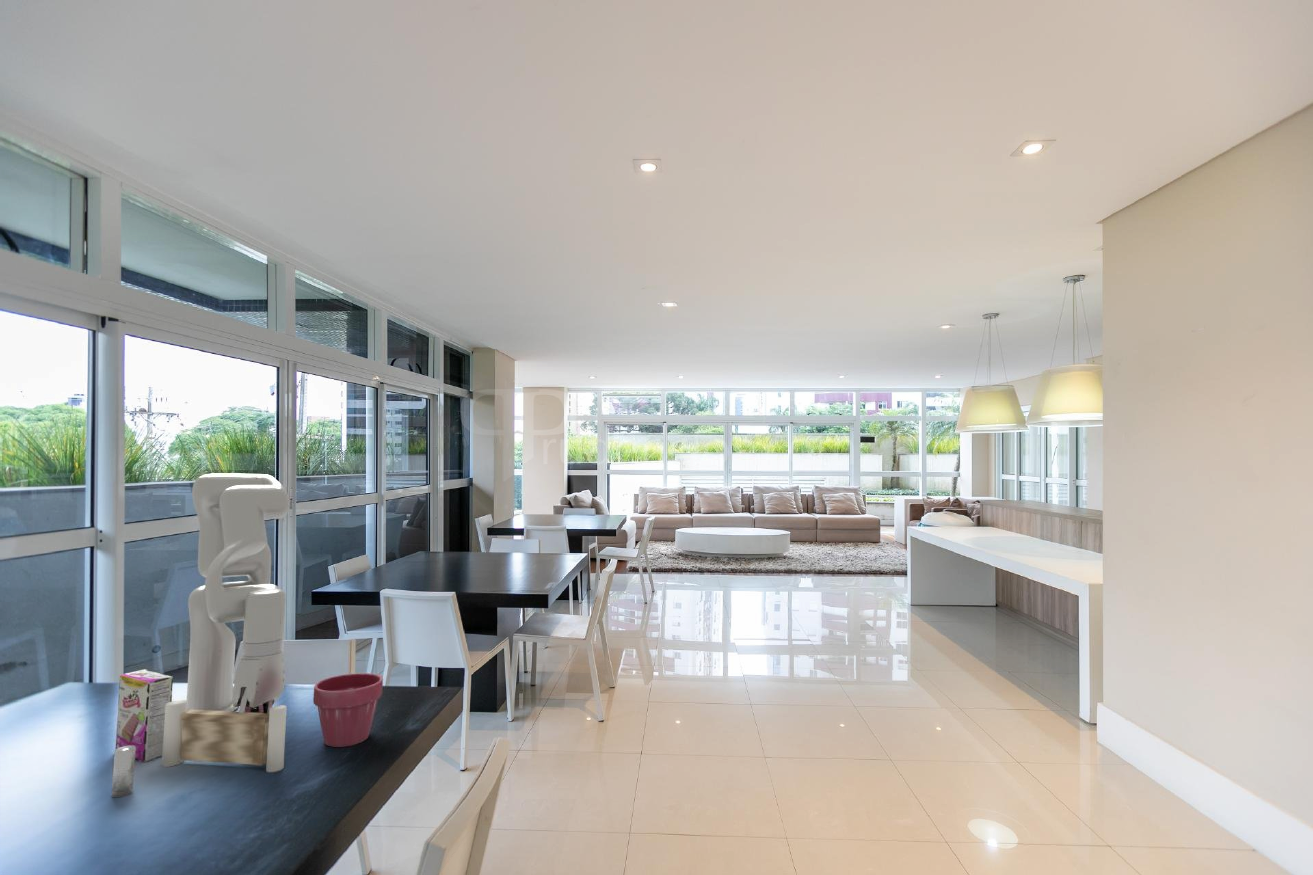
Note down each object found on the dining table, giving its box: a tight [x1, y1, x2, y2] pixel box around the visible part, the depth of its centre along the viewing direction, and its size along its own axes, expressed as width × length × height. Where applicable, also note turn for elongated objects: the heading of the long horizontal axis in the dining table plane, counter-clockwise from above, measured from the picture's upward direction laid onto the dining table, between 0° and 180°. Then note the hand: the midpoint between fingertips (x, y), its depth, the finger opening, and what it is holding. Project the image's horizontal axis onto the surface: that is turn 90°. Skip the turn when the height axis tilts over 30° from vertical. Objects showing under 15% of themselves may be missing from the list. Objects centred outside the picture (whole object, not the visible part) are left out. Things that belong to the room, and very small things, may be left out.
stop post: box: [111, 745, 136, 798], centre depth 118 cm, size 3×3×8 cm
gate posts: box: [161, 699, 288, 773], centre depth 130 cm, size 4×26×12 cm, turn 84°
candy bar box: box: [114, 668, 174, 763], centre depth 136 cm, size 11×5×16 cm, turn 65°
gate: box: [180, 709, 269, 766], centre depth 130 cm, size 18×2×9 cm, turn 84°
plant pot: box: [312, 672, 384, 748], centre depth 145 cm, size 14×14×13 cm
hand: (258, 735), depth 136 cm, fingers closed
